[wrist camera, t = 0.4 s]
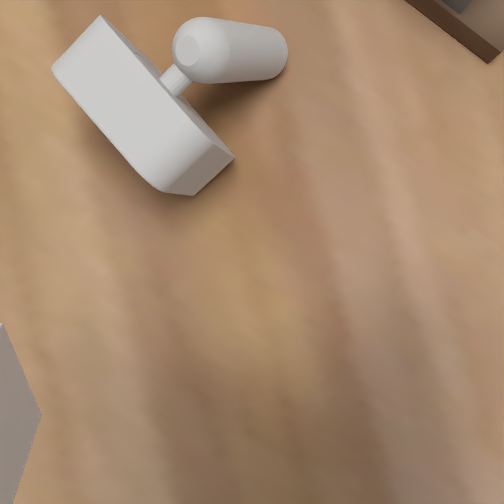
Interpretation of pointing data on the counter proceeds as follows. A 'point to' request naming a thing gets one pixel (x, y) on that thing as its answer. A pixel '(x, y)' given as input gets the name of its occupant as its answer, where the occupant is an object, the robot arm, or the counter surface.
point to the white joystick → (166, 93)
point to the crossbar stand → (469, 23)
